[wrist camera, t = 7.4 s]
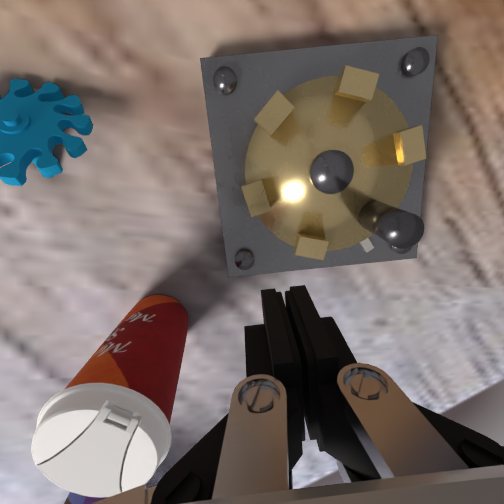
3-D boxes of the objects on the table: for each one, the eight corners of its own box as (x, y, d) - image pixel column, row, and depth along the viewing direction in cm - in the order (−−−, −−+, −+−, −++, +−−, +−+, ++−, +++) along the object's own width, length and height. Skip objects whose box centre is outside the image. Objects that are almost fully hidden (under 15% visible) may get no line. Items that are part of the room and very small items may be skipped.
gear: (112, 96, 23) (32, 191, 18) (129, 152, 28) (70, 237, 24) (-22, 52, 23) (-136, 136, 18) (20, 116, 28) (-60, 194, 24)
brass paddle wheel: (210, 174, 25) (198, 183, 18) (321, 38, 22) (358, -14, 15) (320, 270, 28) (346, 309, 21) (429, 163, 25) (500, 167, 18)
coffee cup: (141, 270, 30) (50, 379, 15) (213, 307, 31) (191, 437, 17) (107, 332, 32) (0, 478, 17) (176, 363, 33) (129, 521, 19)
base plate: (203, 65, 24) (198, 55, 22) (422, 44, 24) (442, 32, 22) (229, 269, 30) (228, 279, 27) (405, 251, 30) (420, 260, 27)
